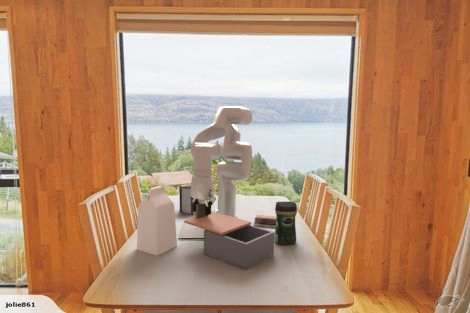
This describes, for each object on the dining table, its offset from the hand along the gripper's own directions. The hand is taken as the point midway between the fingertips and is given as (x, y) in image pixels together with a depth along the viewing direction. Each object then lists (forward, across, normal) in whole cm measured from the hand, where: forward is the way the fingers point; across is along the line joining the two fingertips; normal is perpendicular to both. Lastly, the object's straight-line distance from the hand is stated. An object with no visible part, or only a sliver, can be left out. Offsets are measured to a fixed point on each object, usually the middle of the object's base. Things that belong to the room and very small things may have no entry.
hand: (202, 212), depth 154 cm
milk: (+13, -8, -18) cm, 24 cm away
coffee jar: (+13, +28, +25) cm, 40 cm away
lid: (+3, +10, 0) cm, 10 cm away
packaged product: (+14, +10, +41) cm, 44 cm away
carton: (+13, +22, 0) cm, 25 cm away
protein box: (+13, -38, +31) cm, 51 cm away
